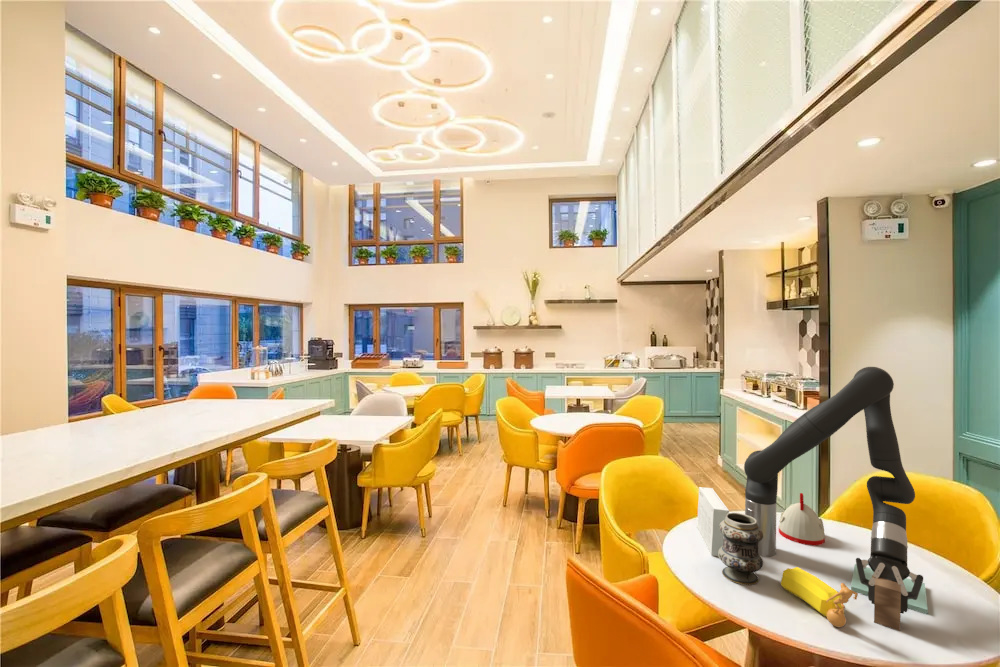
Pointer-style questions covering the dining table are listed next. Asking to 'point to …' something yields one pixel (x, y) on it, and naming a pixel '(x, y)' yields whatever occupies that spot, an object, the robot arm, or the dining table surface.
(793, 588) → the yellow faceted bar
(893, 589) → the walnut block
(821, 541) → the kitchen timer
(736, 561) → the apothecary jar
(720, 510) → the skincare box
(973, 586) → the dining table surface
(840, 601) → the figurine
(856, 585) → the teal board
